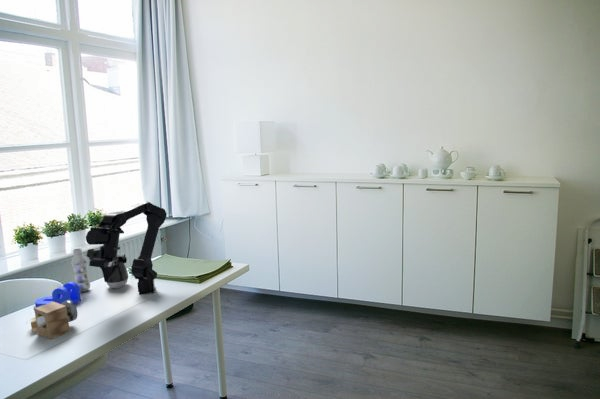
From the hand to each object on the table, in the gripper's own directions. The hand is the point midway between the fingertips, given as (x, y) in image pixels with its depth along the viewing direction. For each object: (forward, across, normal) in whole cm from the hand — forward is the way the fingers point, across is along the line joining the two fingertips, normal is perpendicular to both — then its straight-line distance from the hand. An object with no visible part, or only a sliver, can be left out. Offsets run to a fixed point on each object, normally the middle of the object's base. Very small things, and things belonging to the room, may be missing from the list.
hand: (106, 281), depth 185 cm
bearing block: (+17, +19, -7) cm, 27 cm away
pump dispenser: (+8, -28, -9) cm, 30 cm away
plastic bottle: (+11, -21, -23) cm, 33 cm away
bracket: (+14, -7, -25) cm, 30 cm away
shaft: (+15, +18, -7) cm, 24 cm away
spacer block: (+18, +16, -16) cm, 29 cm away
